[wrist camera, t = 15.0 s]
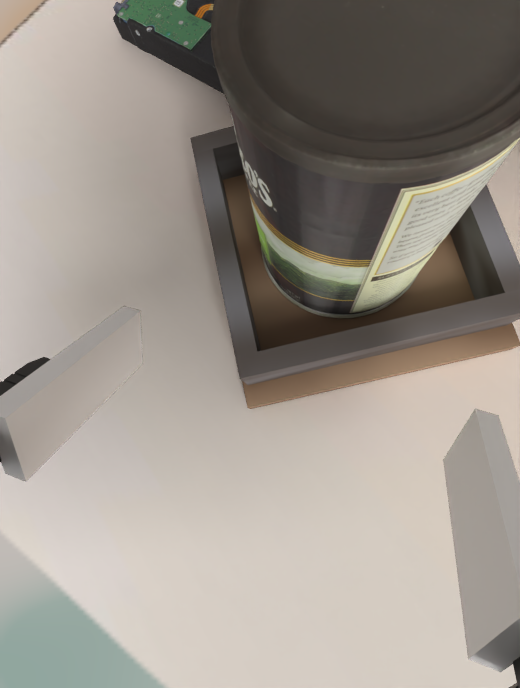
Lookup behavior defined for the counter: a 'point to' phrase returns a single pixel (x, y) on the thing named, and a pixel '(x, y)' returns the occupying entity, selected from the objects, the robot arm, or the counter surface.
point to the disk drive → (172, 33)
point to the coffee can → (365, 133)
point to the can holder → (361, 332)
